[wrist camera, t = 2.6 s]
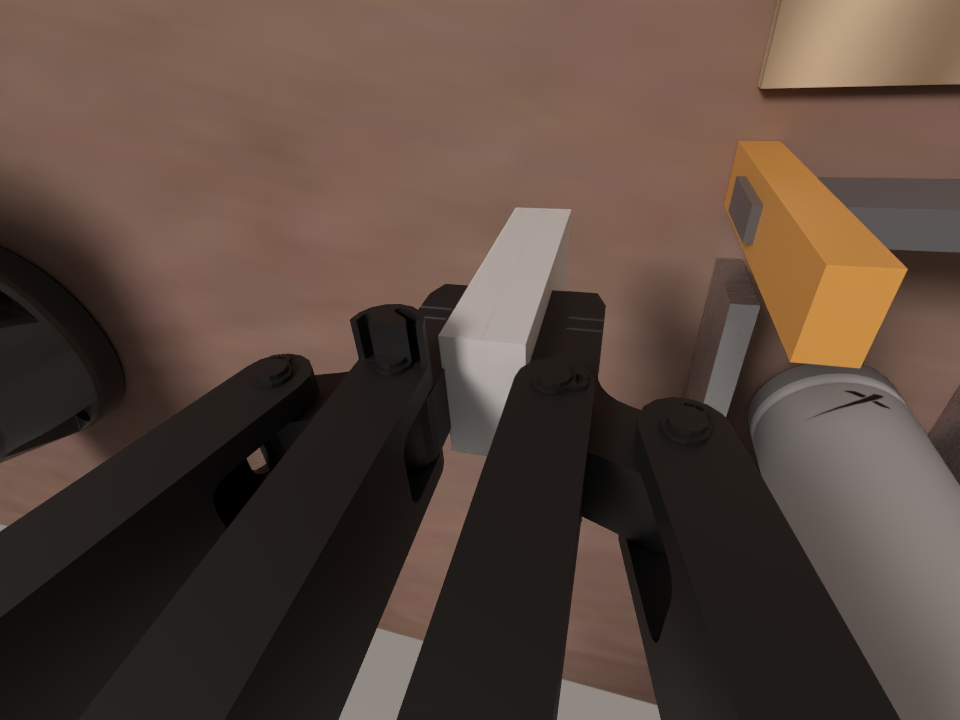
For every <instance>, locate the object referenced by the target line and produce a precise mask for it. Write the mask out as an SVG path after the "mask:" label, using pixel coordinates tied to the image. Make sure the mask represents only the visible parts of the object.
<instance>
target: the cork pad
mask: <svg viewBox="0 0 960 720" xmlns="http://www.w3.org/2000/svg"><path fill="white" fill-rule="evenodd" d="M943 84H960V0H778V2H777V6H776V10H775V14H774V18H773V23H772V27H771V31H770V35H769V40H768V44H767V48H766V52H765V56H764V61H763V65H762V69H761V73H760V78H759V82H758V87H759V88H760V89H771V88H814V87H857V86H900V85H943Z"/></svg>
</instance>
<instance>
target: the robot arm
mask: <svg viewBox="0 0 960 720" xmlns="http://www.w3.org/2000/svg"><path fill="white" fill-rule="evenodd" d="M570 226H571V209H544V208H515V210H514V211H513V213H512V215H511V216H510V218H509V220H508V221H507V223H506V225H505V226H504V228H503V230H502V231H501V233H500V234H499V236H498V238H497V239H496V241H495V243H494V244H493V246H492V248H491V249H490V251H489V253H488V254H487V256H486V258H485V259H484V261H483V263H482V264H481V266H480V268H479V269H478V271H477V272H476V274H475V276H474V277H473V279H472V281H471V282H470V284H469V286H466V285H452V284H445V285H443V286H441V287H440V288H438V289H437V290H435V291H433V292H432V293H430V294H429V296H428V297H427V298H426V300H425V301H424V303H423V304H422V307H420V308H419V309H418V310H417V309H416V308H414V307H412V306H407V305H402V304H386V305H381V306H376V307H371V308H369V309H367V310H364V311H362V312H359V313H358V314H357V315H355V316H354V317H353V318H351V319H350V323H351V327H352V331H353V335H354V340H355V344H356V348H357V352H358V357H359V360H358V361H357V363H356V364H355V365H354V366H353V368H352V369H351V370H350V371H349V372H343V373H332V374H322V375H314V372H313V369H312V366H311V364H310V361H309V360H308V359H306V358H304V357H303V356H301V355H294V354H281V355H280V354H278V355H272V356H270V357H267V358H264V359H261V360H259V361H257V362H255V363H253V364H251V365H249V366H247V367H246V368H244V369H243V370H241V371H240V372H238V373H237V374H235V375H234V376H232V377H231V378H229V379H228V380H226V381H225V382H223V383H222V384H220V385H219V386H217V387H216V388H214V389H213V390H211V391H210V392H208V393H207V394H205V395H204V396H202V397H201V398H199V399H198V400H196V401H195V402H193V403H192V404H190V405H189V406H187V407H186V408H184V409H183V410H181V411H180V412H178V413H177V414H175V415H174V416H172V417H171V418H169V419H168V420H166V421H165V422H163V423H162V424H161V425H159V426H158V427H156V428H155V429H153V430H152V431H150V432H149V433H147V434H146V435H144V436H143V437H141V438H140V439H138V440H137V441H135V442H134V443H132V444H131V445H129V446H128V447H126V448H125V449H123V450H122V451H120V452H119V453H117V454H116V455H114V456H113V457H111V458H110V459H108V460H107V461H105V462H104V463H102V464H101V465H99V466H98V467H96V468H95V469H93V470H92V471H90V472H89V473H87V474H86V475H84V476H83V477H81V478H80V479H78V480H77V481H75V482H74V483H72V484H71V485H69V486H68V487H66V488H65V489H63V490H62V491H60V492H59V493H57V494H56V495H54V496H53V497H51V498H50V499H48V500H47V501H45V502H44V503H42V504H41V505H39V506H38V507H36V508H35V509H33V510H32V511H30V512H29V513H27V514H26V515H24V516H23V517H21V518H20V519H18V520H17V521H15V522H14V523H12V524H11V525H9V526H8V527H6V528H5V529H3V530H2V531H1V532H0V720H338V719H339V717H340V715H341V712H342V710H343V707H344V705H345V703H346V700H347V698H348V695H349V693H350V691H351V688H352V686H353V684H354V681H355V679H356V676H357V674H358V672H359V669H360V667H361V664H362V662H363V660H364V657H365V655H366V653H367V650H368V648H369V645H370V643H371V641H372V638H373V636H374V633H375V631H376V629H377V626H378V624H379V622H380V619H381V617H382V614H383V612H384V610H385V607H386V605H387V603H388V600H389V598H390V595H391V593H392V591H393V588H394V586H395V583H396V581H397V579H398V576H399V574H400V572H401V569H402V567H403V564H404V562H405V560H406V557H407V555H408V552H409V550H410V548H411V545H412V543H413V541H414V538H415V536H416V533H417V531H418V529H419V526H420V524H421V521H422V519H423V517H424V514H425V512H426V510H427V507H428V505H429V502H430V500H431V498H432V495H433V493H434V490H435V488H436V486H437V483H438V481H439V479H440V476H441V474H442V471H443V466H444V457H443V450H442V447H443V445H444V443H445V440H446V438H447V436H448V434H449V431H450V439H451V447H452V451H458V452H464V453H470V454H477V455H483V456H487V458H486V461H485V464H484V467H483V470H482V473H481V476H480V479H479V481H478V484H477V487H476V490H475V493H474V496H473V499H472V502H471V505H470V508H469V511H468V513H467V516H466V519H465V522H464V525H463V528H462V531H461V534H460V537H459V540H458V543H457V545H456V548H455V551H454V554H453V557H452V560H451V563H450V566H449V569H448V572H447V575H446V577H445V580H444V583H443V586H442V589H441V592H440V595H439V598H438V601H437V604H436V607H435V609H434V612H433V615H432V618H431V621H430V624H429V627H428V630H427V633H426V636H425V639H424V641H423V644H422V647H421V651H420V653H419V656H418V659H417V662H416V665H415V668H414V671H413V674H412V676H411V679H410V682H409V685H408V688H407V691H406V694H405V697H404V700H403V703H402V705H401V708H400V711H399V714H398V718H397V720H557V714H558V705H559V697H560V688H561V681H562V673H563V665H564V656H565V648H566V640H567V632H568V624H569V615H570V607H571V599H572V591H573V583H574V575H575V566H576V558H577V550H578V542H579V534H580V526H581V522H582V517H584V518H586V519H589V520H591V521H593V522H595V523H597V524H599V525H601V526H603V527H605V528H607V529H609V530H611V531H613V532H615V533H617V534H619V543H620V547H621V552H622V556H623V560H624V564H625V569H626V573H627V577H628V582H629V586H630V590H631V594H632V599H633V603H634V607H635V611H636V616H637V620H638V624H639V628H640V633H641V637H642V641H643V645H644V650H645V654H646V658H647V662H648V667H649V671H650V675H651V679H652V684H653V688H654V692H655V697H656V701H657V705H658V709H659V714H660V718H661V720H901V719H900V718H899V716H898V714H897V712H896V711H895V709H894V707H893V705H892V704H891V702H890V700H889V698H888V697H887V695H886V693H885V691H884V690H883V688H882V686H881V684H880V683H879V681H878V679H877V677H876V676H875V674H874V672H873V670H872V669H871V667H870V665H869V663H868V662H867V660H866V658H865V656H864V655H863V653H862V651H861V649H860V647H859V646H858V644H857V642H856V640H855V639H854V637H853V635H852V633H851V632H850V630H849V628H848V626H847V625H846V623H845V621H844V619H843V618H842V616H841V614H840V612H839V611H838V609H837V607H836V605H835V604H834V602H833V600H832V598H831V597H830V595H829V593H828V591H827V590H826V588H825V586H824V584H823V583H822V581H821V579H820V577H819V576H818V574H817V572H816V570H815V569H814V567H813V565H812V563H811V562H810V560H809V558H808V556H807V555H806V553H805V551H804V549H803V548H802V546H801V544H800V542H799V541H798V539H797V537H796V535H795V534H794V532H793V530H792V528H791V527H790V525H789V523H788V521H787V520H786V518H785V516H784V514H783V513H782V511H781V509H780V507H779V506H778V504H777V502H776V500H775V499H774V497H773V495H772V493H771V492H770V490H769V488H768V486H767V485H766V483H765V481H764V479H763V478H762V476H761V474H760V472H759V471H758V469H757V467H756V465H755V464H754V462H753V460H752V458H751V457H750V455H749V453H748V451H747V450H746V448H745V446H744V444H743V443H742V441H741V439H740V437H739V436H738V434H737V432H736V430H735V429H734V427H733V425H732V424H731V423H730V422H729V421H728V420H727V418H726V417H725V416H724V415H723V414H722V413H720V412H719V411H717V410H715V409H714V408H712V407H711V406H709V405H707V404H704V403H701V402H698V401H695V400H692V399H686V398H676V397H670V398H663V399H657V400H655V401H653V402H651V403H649V404H647V405H645V406H644V407H643V409H642V410H639V409H636V408H633V407H631V406H628V405H626V404H624V403H621V402H619V401H617V400H616V399H614V398H613V397H611V396H610V395H608V394H607V393H606V391H605V390H604V389H603V388H602V387H601V385H600V383H599V381H598V373H599V364H600V355H601V345H602V336H603V326H604V317H605V307H606V305H605V304H604V302H603V301H602V299H601V298H600V297H599V295H598V294H597V293H584V292H571V291H567V282H568V263H569V244H570ZM123 393H124V378H123V373H122V369H121V366H120V363H119V361H118V358H117V356H116V354H115V352H114V350H113V348H112V346H111V345H110V343H109V341H108V340H107V338H106V336H105V335H104V334H103V332H102V331H101V329H100V328H99V327H98V325H97V324H96V323H95V321H94V320H93V319H92V318H91V316H90V315H89V314H88V313H87V312H86V311H85V310H84V309H83V307H82V306H81V305H80V304H79V303H78V302H77V301H76V300H75V299H74V298H73V297H72V296H71V295H70V294H69V293H67V292H66V291H65V290H64V289H63V288H62V287H61V286H60V285H58V284H57V283H56V282H55V281H54V280H52V279H51V278H50V277H49V276H47V275H46V274H45V273H43V272H42V271H40V270H39V269H38V268H36V267H35V266H33V265H32V264H30V263H29V262H27V261H25V260H24V259H22V258H20V257H19V256H17V255H15V254H13V253H11V252H9V251H7V250H5V249H3V248H1V247H0V463H2V462H4V461H6V460H9V459H11V458H14V457H16V456H19V455H21V454H24V453H26V452H29V451H31V450H34V449H36V448H39V447H41V446H44V445H46V444H49V443H51V442H54V441H56V440H59V439H61V438H64V437H66V436H69V435H71V434H74V433H76V432H79V431H81V430H84V429H86V428H88V427H90V426H91V425H93V424H94V423H96V422H97V421H98V420H100V419H101V418H102V417H104V416H105V415H106V414H107V413H109V412H110V411H111V410H113V409H114V408H115V407H116V406H117V405H118V404H119V403H120V401H121V399H122V397H123ZM259 447H260V449H261V452H262V454H263V456H264V459H265V461H266V464H265V465H264V466H262V467H260V468H259V469H257V470H252V469H251V467H250V465H249V463H248V461H247V459H246V458H247V457H248V456H250V455H251V454H252V453H253V452H255V451H256V450H257V449H258V448H259Z"/></svg>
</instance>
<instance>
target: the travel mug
mask: <svg viewBox="0 0 960 720" xmlns="http://www.w3.org/2000/svg"><path fill="white" fill-rule="evenodd" d="M747 423H748V427H749V431H750V435H751V438H752V442H753V446H754V450H755V454H756V458H757V462H758V465H759V469H760V473H761V476H762V478H763V479H764V481H765V483H766V485H767V486H768V488H769V490H770V492H771V493H772V495H773V497H774V499H775V500H776V502H777V504H778V506H779V507H780V509H781V511H782V513H783V514H784V516H785V518H786V520H787V521H788V523H789V525H790V527H791V528H792V530H793V532H794V534H795V535H796V537H797V539H798V541H799V542H800V544H801V546H802V548H803V549H804V551H805V553H806V555H807V556H808V558H809V560H810V562H811V563H812V565H813V567H814V569H815V570H816V572H817V574H818V576H819V577H820V579H821V581H822V583H823V584H824V586H825V588H826V590H827V591H828V593H829V595H830V597H831V598H832V600H833V602H834V604H835V605H836V607H837V609H838V611H839V612H840V614H841V616H842V618H843V619H844V621H845V623H846V625H847V626H848V628H849V630H850V632H851V633H852V635H853V637H854V639H855V640H856V642H857V644H858V646H859V647H860V649H861V651H862V653H863V655H864V656H865V658H866V660H867V662H868V663H869V665H870V667H871V669H872V670H873V672H874V674H875V676H876V677H877V679H878V681H879V683H880V684H881V686H882V688H883V690H884V691H885V693H886V695H887V697H888V698H889V700H890V702H891V704H892V705H893V707H894V709H895V711H896V712H897V714H898V716H899V718H900V719H901V720H960V485H959V483H958V482H957V480H956V479H955V477H954V476H953V474H952V473H951V471H950V470H949V468H948V467H947V465H946V464H945V462H944V461H943V459H942V458H941V456H940V455H939V453H938V452H937V450H936V449H935V447H934V446H933V444H932V443H931V441H930V440H929V438H928V437H927V435H926V434H925V432H924V431H923V429H922V427H921V426H920V424H919V423H918V421H917V420H916V418H915V417H914V415H913V414H912V412H911V411H910V410H909V408H908V407H907V406H906V404H905V402H904V400H903V399H902V397H901V396H900V394H899V393H898V391H897V390H896V388H895V387H894V385H893V384H892V383H891V382H890V381H889V380H888V379H887V378H886V377H885V376H883V375H882V374H880V373H879V372H877V371H876V370H873V369H871V368H869V367H866V366H864V365H861V368H849V367H838V366H828V365H817V364H804V365H800V366H797V367H794V368H791V369H789V370H786V371H784V372H782V373H780V374H778V375H777V376H775V377H773V378H772V379H771V380H769V381H768V382H767V383H765V384H764V385H763V386H762V387H761V388H760V389H759V391H758V392H757V393H756V394H755V395H754V397H753V399H752V400H751V402H750V404H749V408H748V411H747Z"/></svg>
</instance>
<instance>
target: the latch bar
mask: <svg viewBox="0 0 960 720" xmlns="http://www.w3.org/2000/svg"><path fill="white" fill-rule="evenodd" d="M724 206H725V209H726V211H727V213H728V216H729V218H730V220H731V223H732V225H733V228H734V230H735V232H736V235H737V237H738V239H739V242H740V244H741V247H742V249H743V251H744V254H745V256H746V259H747V261H748V263H749V266H750V268H751V270H752V273H753V275H754V278H755V280H756V282H757V285H758V287H759V290H760V292H761V294H762V297H763V299H764V301H765V304H766V306H767V309H768V311H769V313H770V316H771V318H772V320H773V323H774V325H775V328H776V330H777V332H778V335H779V337H780V340H781V342H782V344H783V347H784V349H785V351H786V354H787V356H788V359H789V361H790V362H795V363H806V364H817V365H828V366H838V367H849V368H861V365H862V363H863V361H864V359H865V357H866V355H867V353H868V351H869V349H870V347H871V345H872V343H873V341H874V338H875V336H876V334H877V332H878V330H879V328H880V326H881V324H882V322H883V320H884V318H885V316H886V313H887V311H888V309H889V307H890V305H891V303H892V301H893V299H894V297H895V295H896V293H897V291H898V289H899V286H900V284H901V282H902V280H903V278H904V276H905V274H906V272H907V270H908V269H907V268H906V267H905V266H904V265H903V264H902V263H901V262H900V261H899V260H898V259H897V258H896V257H895V256H894V255H893V254H892V253H891V252H890V251H889V250H911V251H935V252H959V253H960V179H905V178H833V177H816V176H815V175H814V174H813V173H812V172H811V171H810V170H809V169H808V168H807V167H806V166H805V165H804V164H803V163H802V162H801V161H800V160H799V159H798V158H797V157H796V156H795V155H794V154H793V153H792V152H791V151H790V150H789V149H788V148H787V147H786V146H785V145H784V144H783V143H782V142H781V141H739V142H738V146H737V150H736V155H735V159H734V163H733V168H732V172H731V176H730V181H729V185H728V189H727V194H726V198H725V202H724Z"/></svg>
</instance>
